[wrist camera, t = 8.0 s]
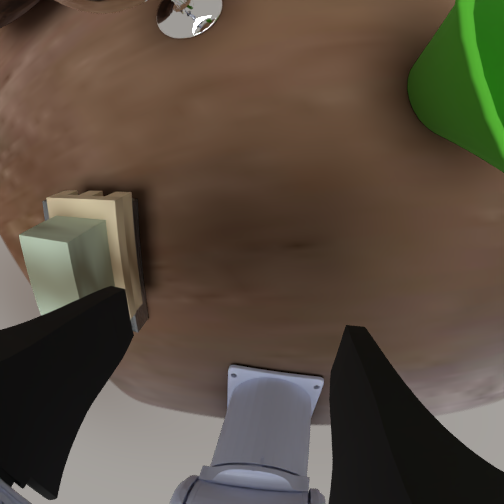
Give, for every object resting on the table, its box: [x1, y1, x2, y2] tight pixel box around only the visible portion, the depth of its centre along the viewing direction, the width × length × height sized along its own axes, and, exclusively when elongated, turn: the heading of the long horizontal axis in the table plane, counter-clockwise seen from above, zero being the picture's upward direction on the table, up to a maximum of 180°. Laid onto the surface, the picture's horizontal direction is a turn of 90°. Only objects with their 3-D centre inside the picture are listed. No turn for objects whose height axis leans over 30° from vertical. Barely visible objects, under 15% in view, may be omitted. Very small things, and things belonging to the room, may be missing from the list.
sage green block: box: [19, 190, 143, 319], centre depth 16 cm, size 8×6×6 cm
